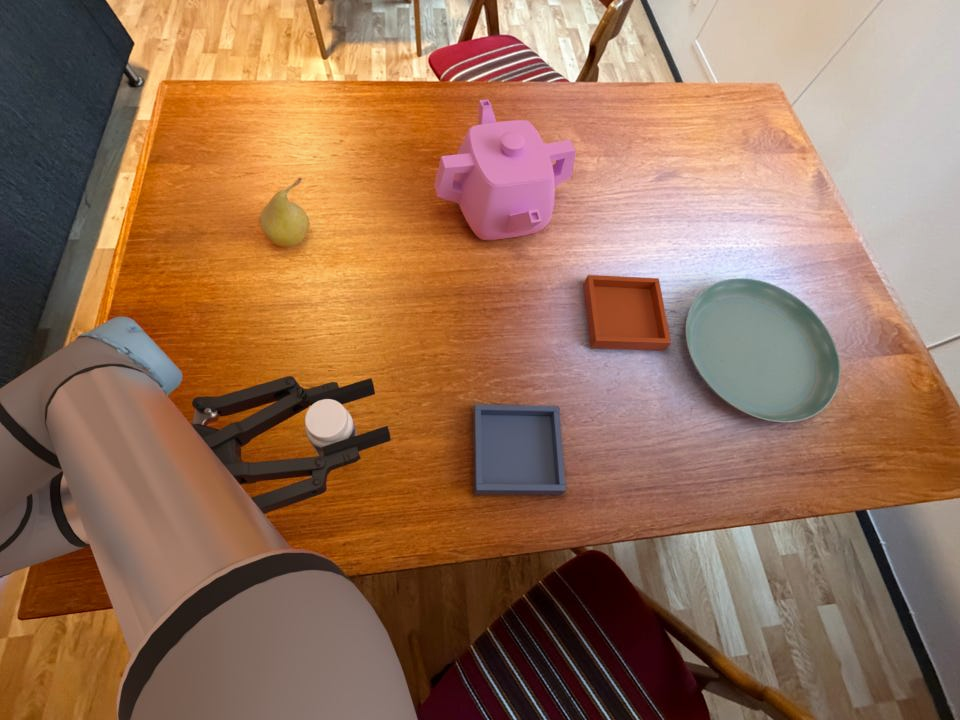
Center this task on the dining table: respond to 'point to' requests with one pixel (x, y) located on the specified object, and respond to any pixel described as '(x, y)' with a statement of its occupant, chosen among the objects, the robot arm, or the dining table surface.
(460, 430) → the dining table surface
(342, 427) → the pill bottle
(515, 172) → the teapot
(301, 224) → the fruit
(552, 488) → the blue tray
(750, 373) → the saucer
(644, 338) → the burnt orange tray
